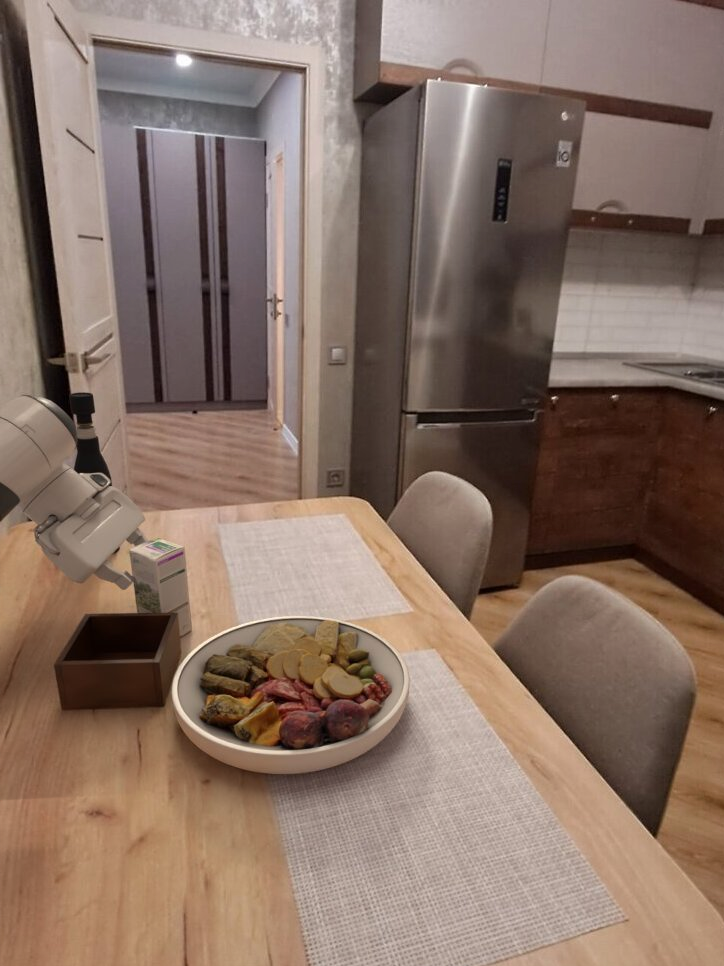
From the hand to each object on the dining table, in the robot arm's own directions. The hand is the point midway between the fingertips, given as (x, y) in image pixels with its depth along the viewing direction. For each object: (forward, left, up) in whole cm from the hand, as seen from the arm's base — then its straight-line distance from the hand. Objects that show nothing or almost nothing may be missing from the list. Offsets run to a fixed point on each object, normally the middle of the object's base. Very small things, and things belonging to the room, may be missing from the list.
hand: (141, 570), depth 98 cm
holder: (-1, -12, -11) cm, 16 cm away
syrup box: (+2, 0, -11) cm, 11 cm away
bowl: (+22, -19, -11) cm, 31 cm away
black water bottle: (-16, +31, -11) cm, 37 cm away
